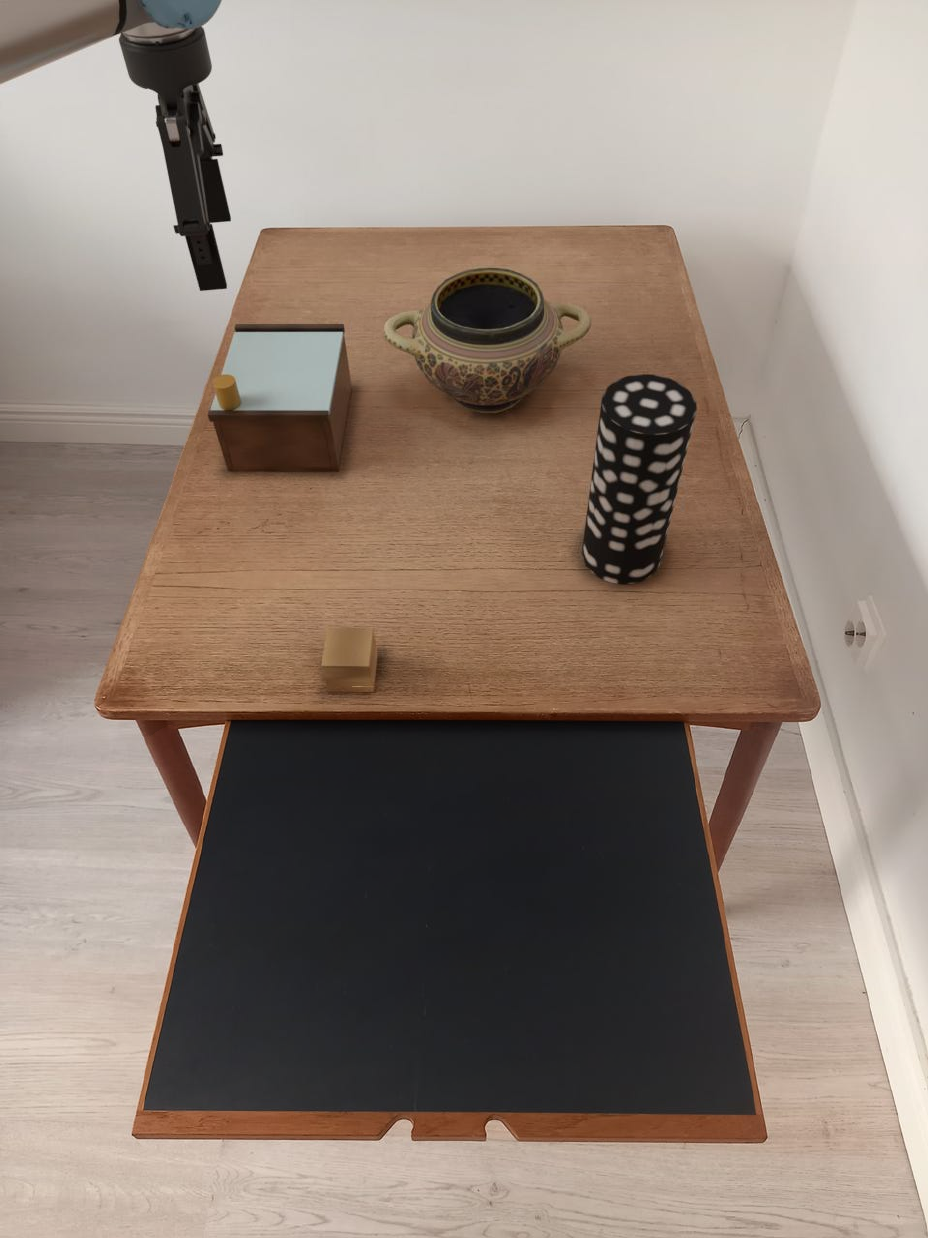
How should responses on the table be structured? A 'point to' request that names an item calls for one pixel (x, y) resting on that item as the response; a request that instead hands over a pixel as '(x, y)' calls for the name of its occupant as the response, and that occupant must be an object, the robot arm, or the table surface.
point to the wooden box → (287, 424)
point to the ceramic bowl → (487, 337)
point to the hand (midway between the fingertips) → (216, 253)
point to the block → (349, 659)
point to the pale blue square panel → (279, 371)
